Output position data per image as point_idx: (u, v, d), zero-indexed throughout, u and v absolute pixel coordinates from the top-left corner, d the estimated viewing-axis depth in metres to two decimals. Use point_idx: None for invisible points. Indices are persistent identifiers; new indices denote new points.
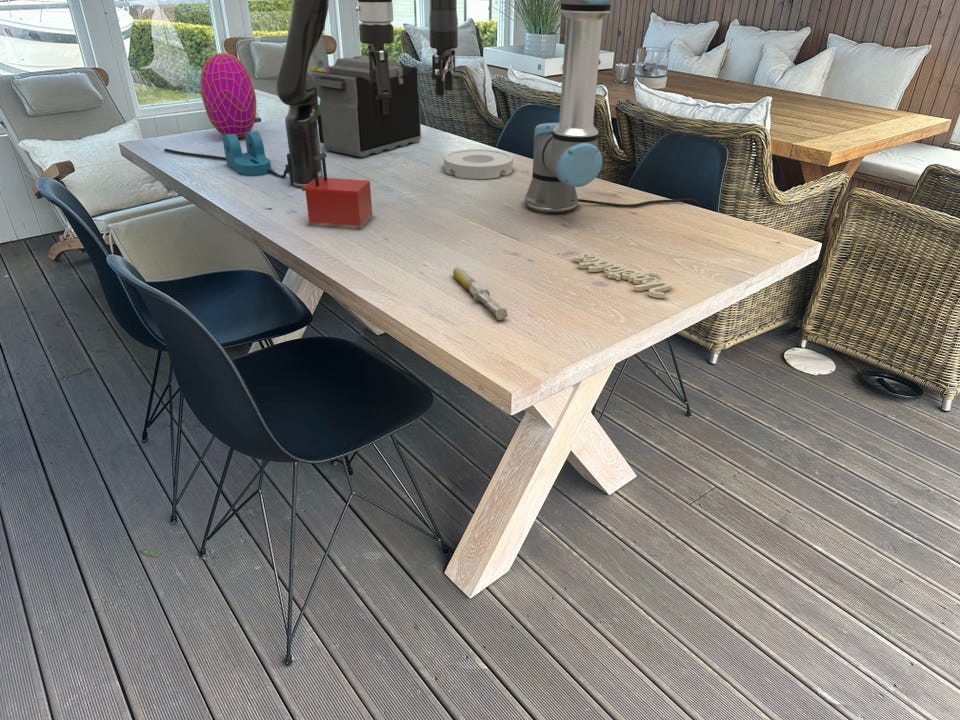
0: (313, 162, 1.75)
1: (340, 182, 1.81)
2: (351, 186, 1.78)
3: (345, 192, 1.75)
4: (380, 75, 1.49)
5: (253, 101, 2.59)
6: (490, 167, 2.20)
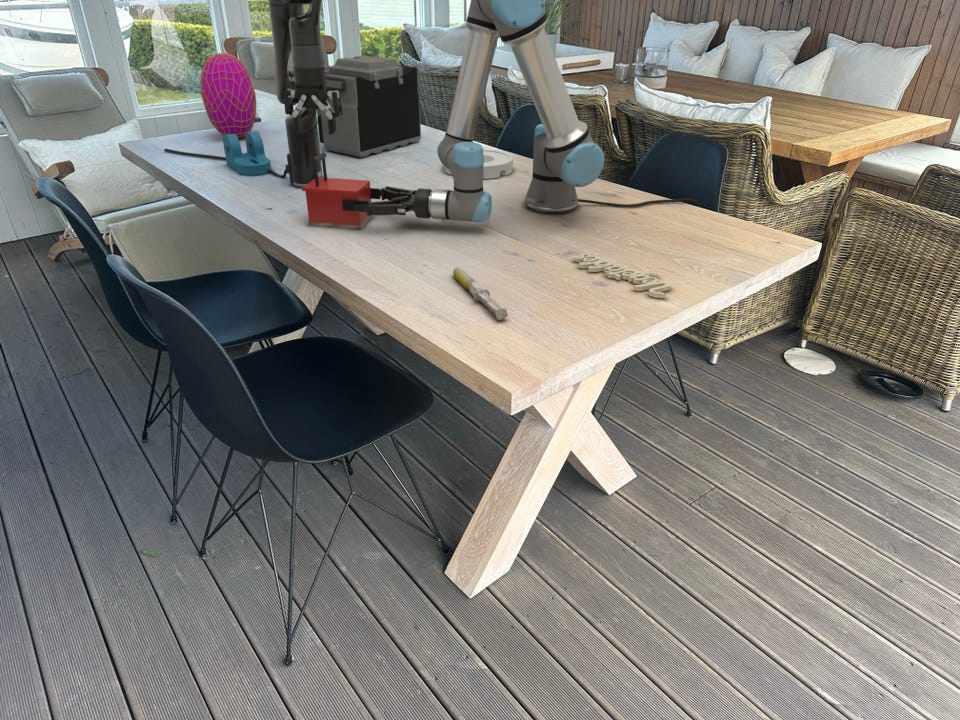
0: (313, 162, 1.75)
1: (340, 182, 1.81)
2: (351, 186, 1.78)
3: (345, 192, 1.75)
4: None
5: (253, 101, 2.59)
6: (490, 167, 2.20)
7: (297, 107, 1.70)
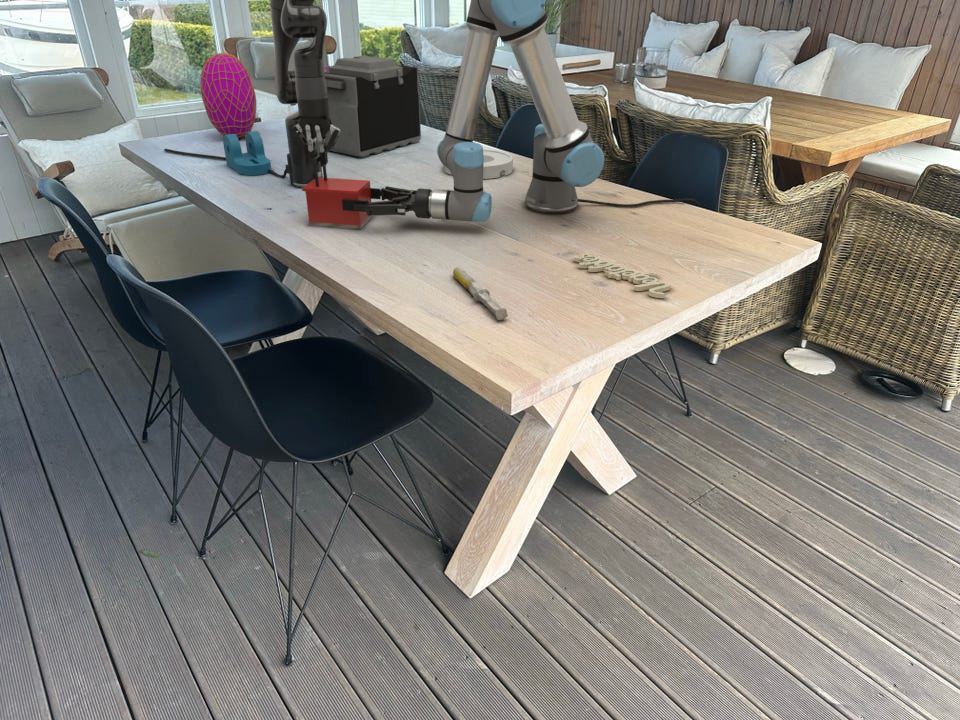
0: (313, 162, 1.75)
1: (340, 182, 1.81)
2: (351, 186, 1.78)
3: (345, 192, 1.75)
4: None
5: (253, 101, 2.59)
6: (490, 167, 2.20)
7: (308, 140, 1.74)
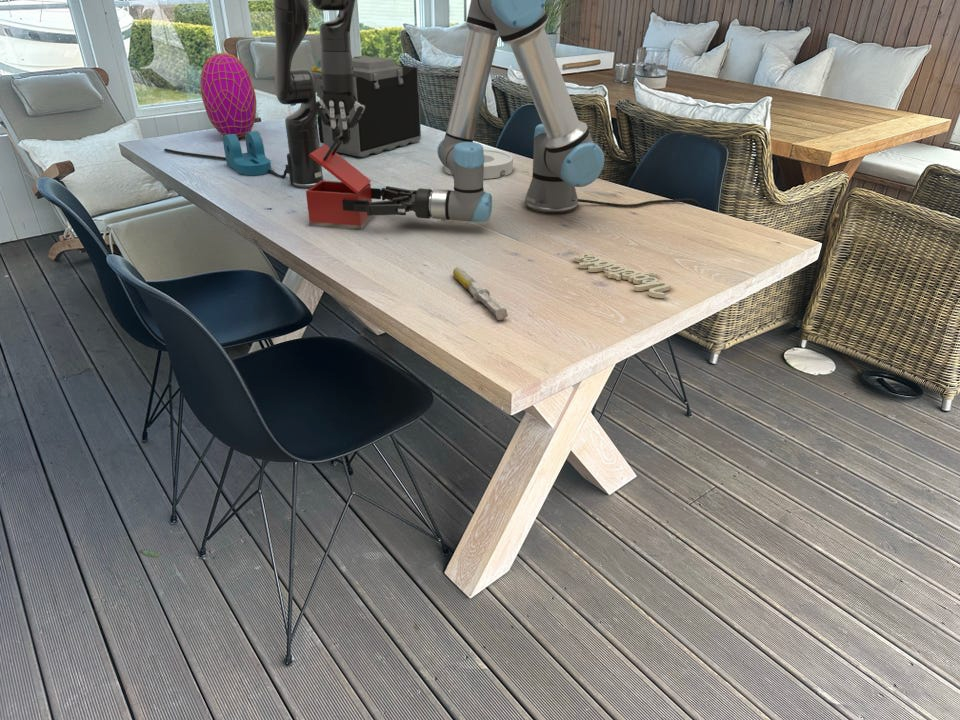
0: (335, 140, 1.71)
1: (345, 167, 1.79)
2: (354, 180, 1.77)
3: (347, 185, 1.74)
4: None
5: (253, 101, 2.59)
6: (490, 167, 2.20)
7: (331, 116, 1.70)
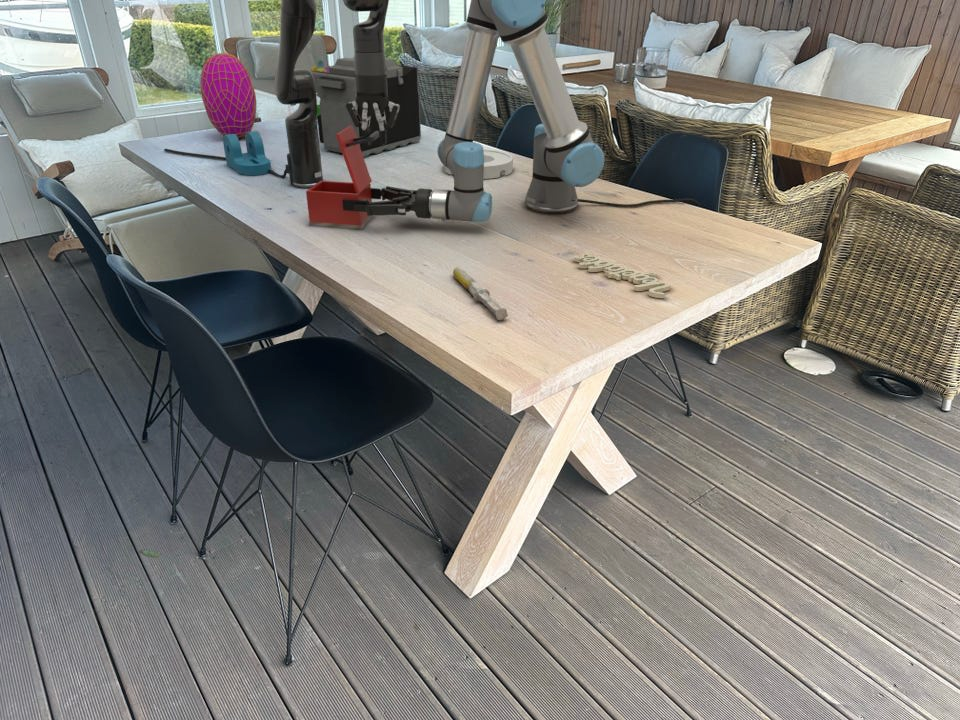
0: (368, 139, 1.69)
1: (358, 159, 1.77)
2: (360, 177, 1.77)
3: (353, 180, 1.74)
4: None
5: (253, 101, 2.59)
6: (490, 167, 2.20)
7: (363, 118, 1.68)
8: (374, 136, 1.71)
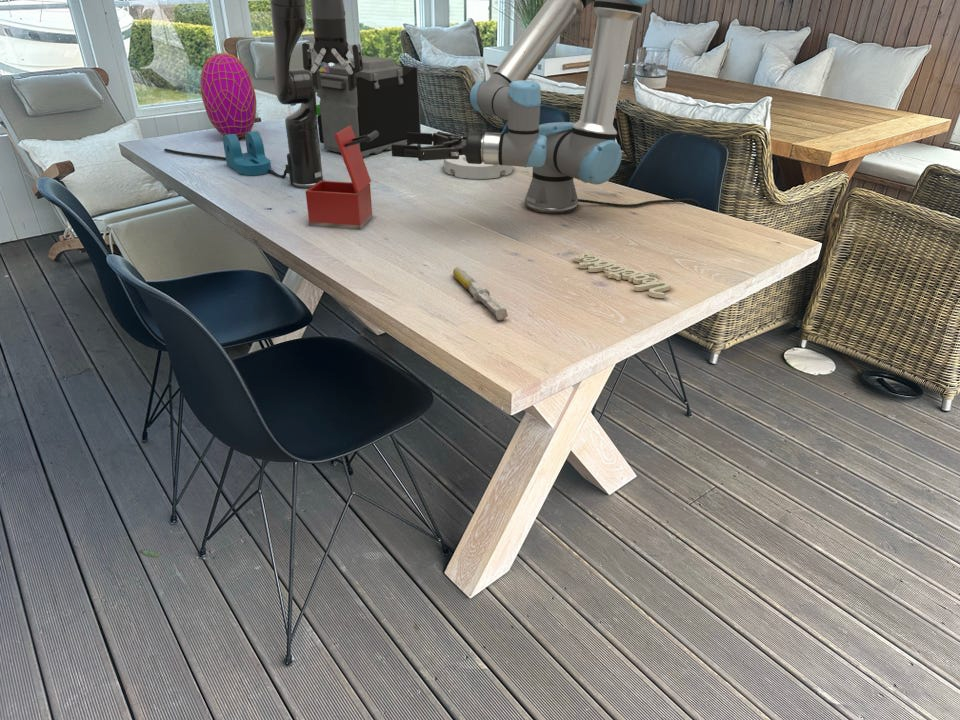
0: (366, 138, 1.69)
1: (357, 159, 1.77)
2: (359, 177, 1.77)
3: (352, 180, 1.74)
4: None
5: (253, 101, 2.59)
6: (490, 167, 2.20)
7: (316, 61, 1.64)
8: (372, 136, 1.71)
